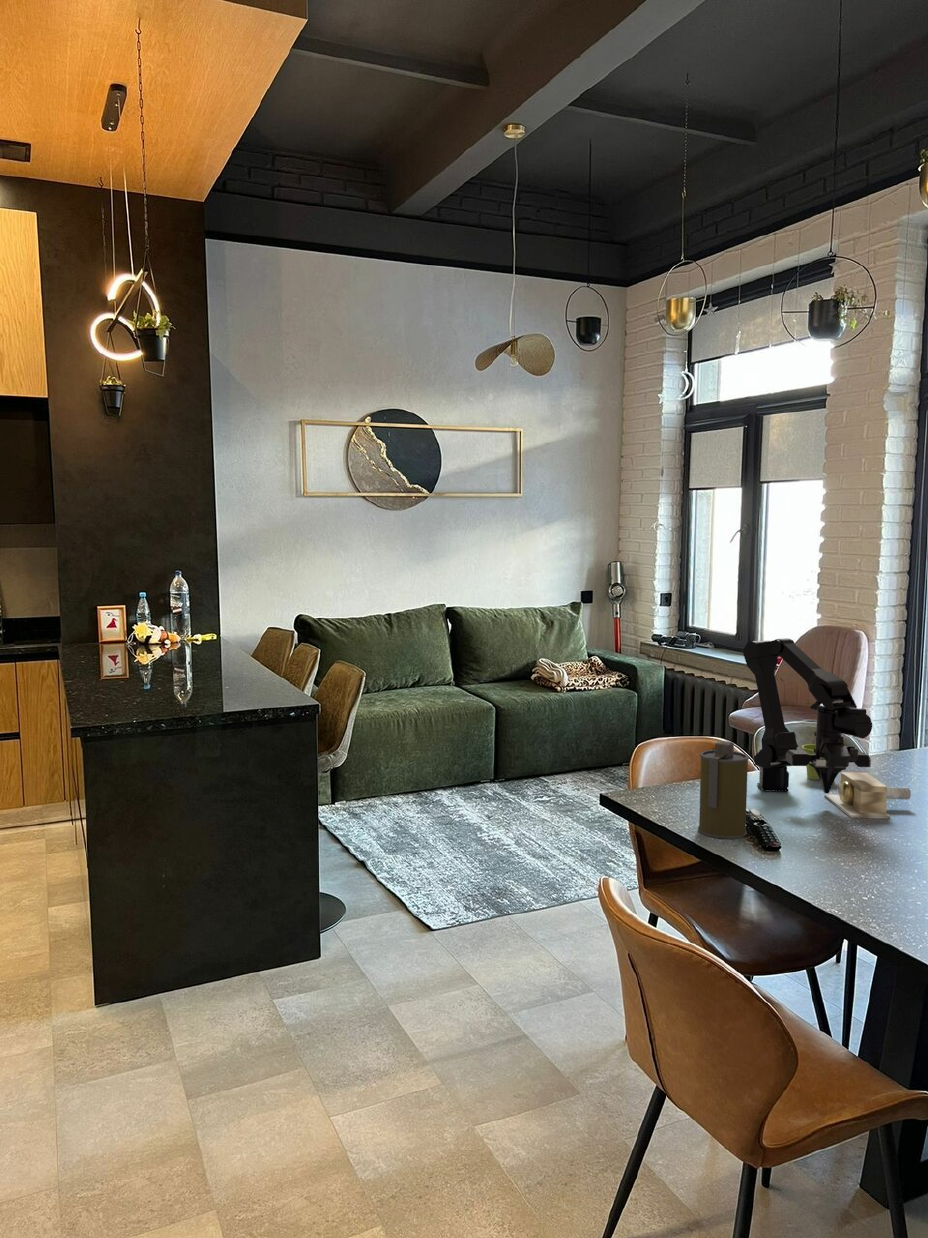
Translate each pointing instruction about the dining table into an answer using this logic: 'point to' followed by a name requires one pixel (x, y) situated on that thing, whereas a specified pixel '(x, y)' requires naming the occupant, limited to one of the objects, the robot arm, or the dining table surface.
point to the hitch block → (863, 797)
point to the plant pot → (810, 770)
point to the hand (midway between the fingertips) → (826, 793)
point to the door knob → (892, 793)
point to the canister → (723, 792)
